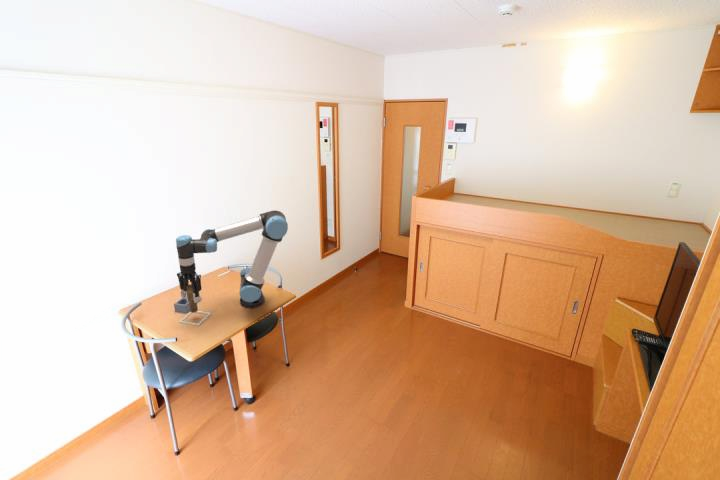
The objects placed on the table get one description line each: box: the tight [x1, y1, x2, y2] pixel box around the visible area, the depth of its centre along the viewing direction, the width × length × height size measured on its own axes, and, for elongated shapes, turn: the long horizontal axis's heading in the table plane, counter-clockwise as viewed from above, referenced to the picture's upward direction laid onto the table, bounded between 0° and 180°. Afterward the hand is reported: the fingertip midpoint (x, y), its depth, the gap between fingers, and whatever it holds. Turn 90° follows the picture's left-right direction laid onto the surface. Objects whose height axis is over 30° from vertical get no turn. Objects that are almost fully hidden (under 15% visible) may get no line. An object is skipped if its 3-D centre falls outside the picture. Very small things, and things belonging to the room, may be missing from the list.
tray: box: [178, 310, 212, 327], centre depth 192 cm, size 12×12×2 cm
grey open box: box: [173, 297, 190, 314], centre depth 200 cm, size 8×8×6 cm
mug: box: [180, 286, 202, 303], centre depth 208 cm, size 8×12×12 cm, turn 88°
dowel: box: [186, 283, 199, 314], centre depth 188 cm, size 4×4×16 cm
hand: (192, 300), depth 188 cm, fingers closed on dowel, 4 cm apart
